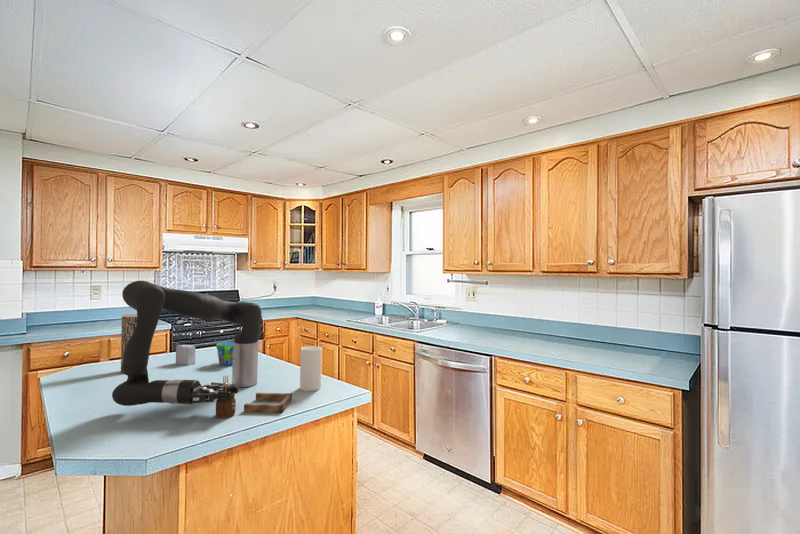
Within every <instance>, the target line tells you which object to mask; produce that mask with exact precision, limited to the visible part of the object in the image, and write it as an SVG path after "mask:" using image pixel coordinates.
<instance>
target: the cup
mask: <svg viewBox="0 0 800 534" xmlns="http://www.w3.org/2000/svg"><path fill="white" fill-rule="evenodd" d="M322 350H323V348H322V347H321V346H318V345H317V346H316V345H307V346H302V347H300V362H299V363H300V364H299V365H300V367H299V368H300V370H299V373H300V374H299V390H301V391H304V392H315V391H318V390H320V389H321V387H322V352H323V351H322Z"/></svg>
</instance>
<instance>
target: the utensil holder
mask: <svg viewBox="0 0 800 534" xmlns="http://www.w3.org/2000/svg"><path fill="white" fill-rule="evenodd" d="M222 383H223V386H225V391H224V392H231V398H230V399H218V400H215V401H216V402H215V416H216V417H217V418H221V419H225V418H230V417H233V416H234V415H235V414H236V408H237V407H236V404H237V403H236V398H235V396H236V395H235V393H234V392H232V391H227V389H226V386H230V383H229V375H223V378H222ZM221 389H223V387H222V388H221ZM228 390H229V389H228ZM222 392H223V391H222Z"/></svg>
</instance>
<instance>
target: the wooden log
mask: <svg viewBox="0 0 800 534" xmlns="http://www.w3.org/2000/svg"><path fill="white" fill-rule="evenodd" d="M136 323H137V313H128V314H121V332H120V333H121V335H120V336H121V337H120V338H121V339H120V343H121V344H120V372H121V373H122V369H121V368H122V360H123V354H124V349H125V346H126V344H127V342H128V340H129V339H130V337H131V336H132V334H133V332H134V330H135V327H136Z"/></svg>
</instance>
